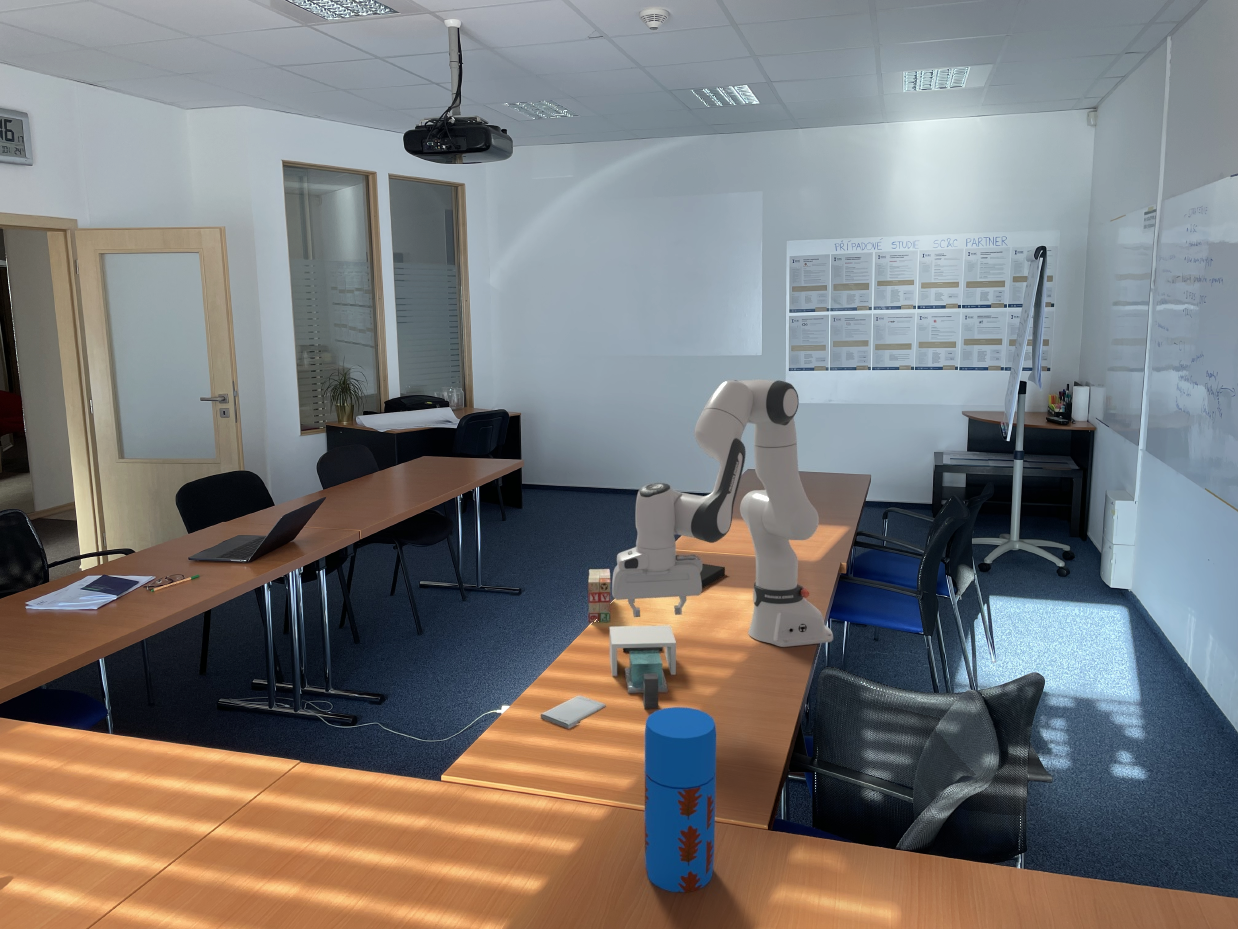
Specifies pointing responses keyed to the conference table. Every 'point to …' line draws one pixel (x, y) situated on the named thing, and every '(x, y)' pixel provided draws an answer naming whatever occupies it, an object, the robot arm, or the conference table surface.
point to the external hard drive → (711, 574)
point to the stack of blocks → (599, 595)
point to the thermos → (680, 798)
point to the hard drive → (572, 711)
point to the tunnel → (643, 642)
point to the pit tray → (642, 649)
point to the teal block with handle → (646, 676)
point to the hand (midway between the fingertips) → (657, 615)
